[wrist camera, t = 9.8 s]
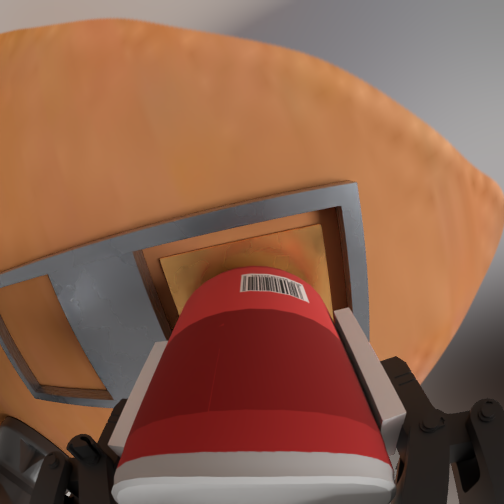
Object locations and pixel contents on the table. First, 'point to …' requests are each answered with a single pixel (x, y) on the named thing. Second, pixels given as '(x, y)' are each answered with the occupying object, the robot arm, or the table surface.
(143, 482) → the canned food
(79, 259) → the rail frame
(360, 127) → the table surface
